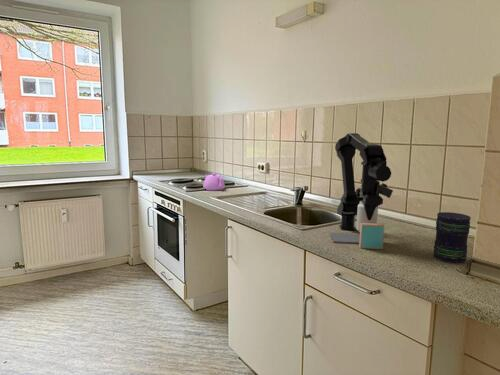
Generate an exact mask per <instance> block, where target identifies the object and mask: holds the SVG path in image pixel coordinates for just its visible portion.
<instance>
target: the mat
mask: <svg viewBox="0 0 500 375" xmlns="http://www.w3.org/2000/svg"><path fill="white" fill-rule="evenodd" d="M329 235H330V238H331V241H332V242H333V244H334V243H335V244H352V245H353V244H357V245H359V240H360V233H354V232H353V233H352V232H350V233H349V232H329Z"/></svg>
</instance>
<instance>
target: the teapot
mask: <svg viewBox="0 0 500 375" xmlns="http://www.w3.org/2000/svg"><path fill="white" fill-rule="evenodd" d="M223 178H224V177H223V176H221V175H220V174H217V172H212V173H211V174H205V175H204V181H203V184H202V186H203V188H204V190H205V189H206V191H209V192H211V191H213V192H216V191H218V192H219V191H222V190H224V189H225V188H226V187H225V186H226V185H225V181H224V179H223Z"/></svg>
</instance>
